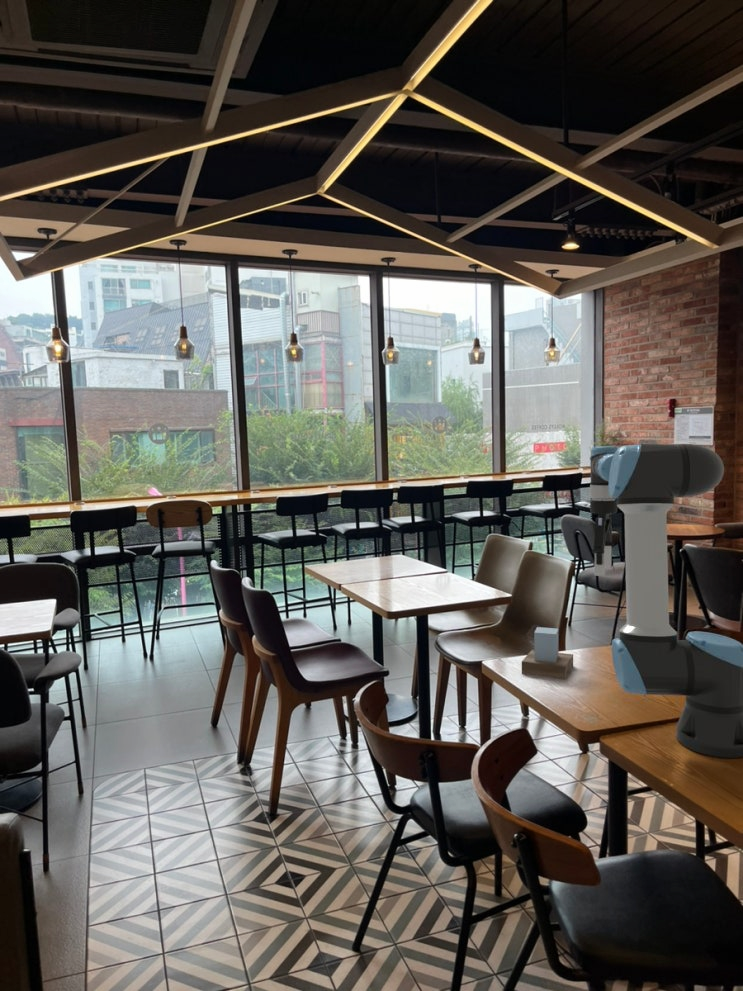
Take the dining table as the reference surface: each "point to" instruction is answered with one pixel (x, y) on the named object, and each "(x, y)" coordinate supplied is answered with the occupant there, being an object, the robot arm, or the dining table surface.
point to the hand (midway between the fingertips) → (603, 571)
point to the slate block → (546, 644)
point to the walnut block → (548, 666)
